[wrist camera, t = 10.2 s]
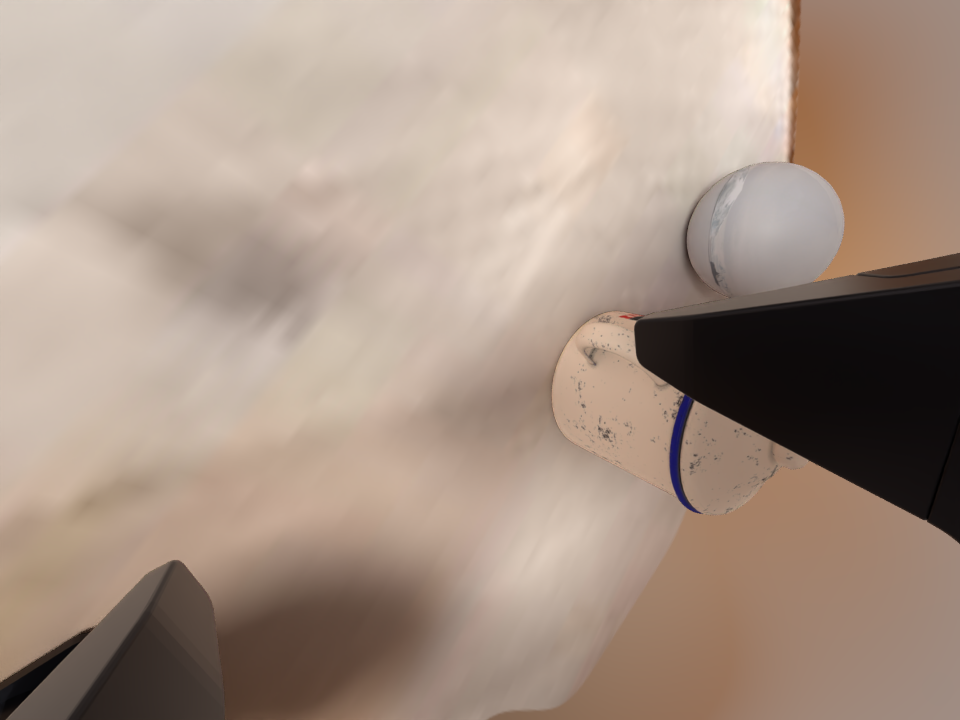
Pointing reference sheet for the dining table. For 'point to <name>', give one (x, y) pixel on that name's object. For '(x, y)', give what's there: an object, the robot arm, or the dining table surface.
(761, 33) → the dining table surface
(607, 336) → the teacup with lid
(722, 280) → the bath bomb
